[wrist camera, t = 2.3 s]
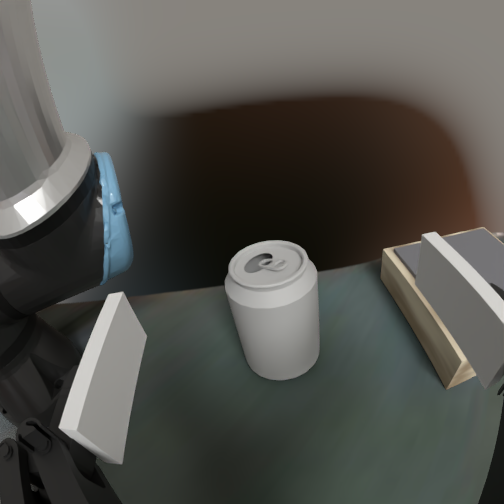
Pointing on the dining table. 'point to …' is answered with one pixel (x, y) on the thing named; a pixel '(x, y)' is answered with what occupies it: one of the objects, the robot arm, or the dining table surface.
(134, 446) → the dining table surface
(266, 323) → the can
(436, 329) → the dock
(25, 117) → the robot arm
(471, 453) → the dining table surface
